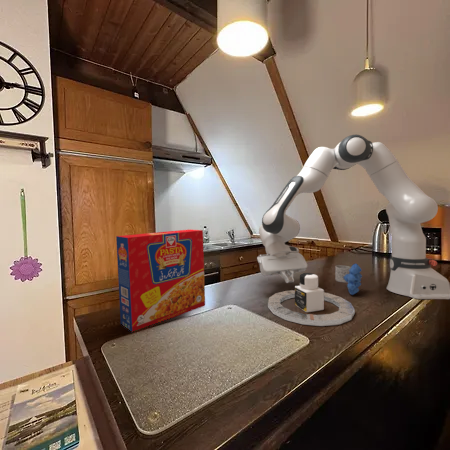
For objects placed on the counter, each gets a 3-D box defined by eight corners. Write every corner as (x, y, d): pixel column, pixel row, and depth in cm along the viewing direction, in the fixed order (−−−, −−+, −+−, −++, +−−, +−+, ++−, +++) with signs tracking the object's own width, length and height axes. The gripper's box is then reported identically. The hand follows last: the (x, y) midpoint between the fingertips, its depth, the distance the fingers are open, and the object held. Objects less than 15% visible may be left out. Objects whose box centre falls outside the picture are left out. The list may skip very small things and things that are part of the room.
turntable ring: (344, 296, 98) (344, 291, 98) (364, 329, 71) (364, 323, 71) (271, 292, 105) (271, 287, 105) (264, 321, 78) (264, 315, 78)
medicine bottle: (294, 305, 91) (294, 272, 90) (311, 302, 93) (311, 270, 92) (306, 312, 84) (306, 277, 83) (324, 310, 86) (324, 275, 85)
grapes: (347, 287, 109) (347, 260, 108) (365, 291, 104) (365, 262, 103) (338, 295, 100) (338, 265, 99) (356, 298, 95) (357, 267, 95)
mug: (352, 282, 116) (352, 268, 115) (337, 282, 117) (337, 268, 117) (346, 277, 125) (346, 263, 125) (332, 276, 127) (332, 263, 126)
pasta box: (132, 333, 73) (127, 237, 71) (120, 324, 78) (116, 236, 77) (205, 305, 93) (202, 230, 91) (191, 300, 98) (189, 229, 97)
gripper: (257, 250, 102) (269, 280, 93) (301, 247, 108) (315, 275, 99) (253, 259, 107) (264, 289, 98) (295, 255, 113) (308, 283, 104)
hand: (290, 282), depth 99 cm, fingers closed
